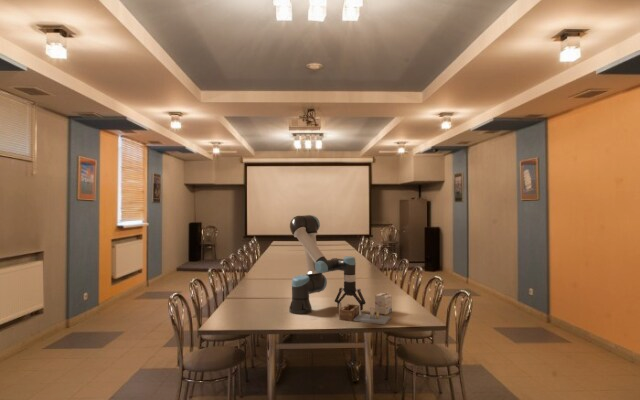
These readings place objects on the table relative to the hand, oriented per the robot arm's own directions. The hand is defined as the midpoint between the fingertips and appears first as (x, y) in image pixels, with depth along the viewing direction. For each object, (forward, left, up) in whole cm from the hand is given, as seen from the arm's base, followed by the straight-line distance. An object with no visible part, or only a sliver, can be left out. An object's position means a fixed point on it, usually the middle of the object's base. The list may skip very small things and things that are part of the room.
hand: (350, 314), depth 272 cm
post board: (+15, 0, -2) cm, 15 cm away
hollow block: (0, 0, -2) cm, 2 cm away
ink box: (+17, +20, -2) cm, 26 cm away
